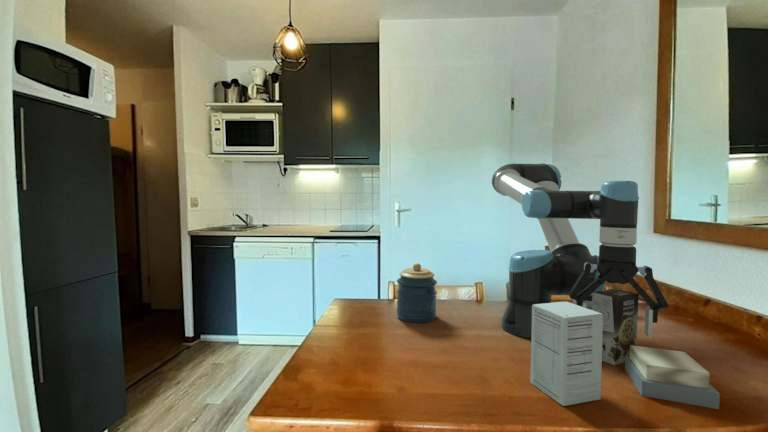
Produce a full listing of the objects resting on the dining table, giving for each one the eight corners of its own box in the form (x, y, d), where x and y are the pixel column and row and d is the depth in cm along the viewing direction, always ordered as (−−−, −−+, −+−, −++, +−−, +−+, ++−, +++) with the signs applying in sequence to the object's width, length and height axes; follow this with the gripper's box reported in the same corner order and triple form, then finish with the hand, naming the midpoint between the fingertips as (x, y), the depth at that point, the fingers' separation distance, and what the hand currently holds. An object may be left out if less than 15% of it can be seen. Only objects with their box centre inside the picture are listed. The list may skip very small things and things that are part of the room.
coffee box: (615, 366, 82) (618, 297, 81) (588, 355, 88) (590, 291, 87) (637, 358, 86) (640, 293, 85) (610, 348, 92) (612, 287, 91)
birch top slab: (646, 379, 70) (646, 364, 70) (629, 358, 80) (630, 345, 79) (708, 388, 67) (709, 373, 67) (683, 365, 76) (684, 351, 76)
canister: (444, 318, 114) (445, 264, 113) (413, 326, 106) (414, 268, 106) (418, 308, 124) (419, 258, 124) (388, 314, 117) (389, 262, 116)
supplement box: (602, 400, 68) (606, 313, 67) (563, 408, 65) (566, 318, 64) (564, 376, 77) (566, 300, 76) (528, 382, 74) (530, 303, 74)
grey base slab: (641, 398, 70) (642, 381, 70) (624, 371, 81) (625, 356, 81) (718, 412, 65) (719, 393, 65) (689, 381, 77) (690, 365, 76)
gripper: (561, 243, 87) (559, 329, 87) (688, 249, 78) (684, 344, 78) (558, 241, 94) (556, 320, 94) (674, 245, 85) (671, 333, 85)
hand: (614, 331), depth 86 cm, fingers open, 13 cm apart
